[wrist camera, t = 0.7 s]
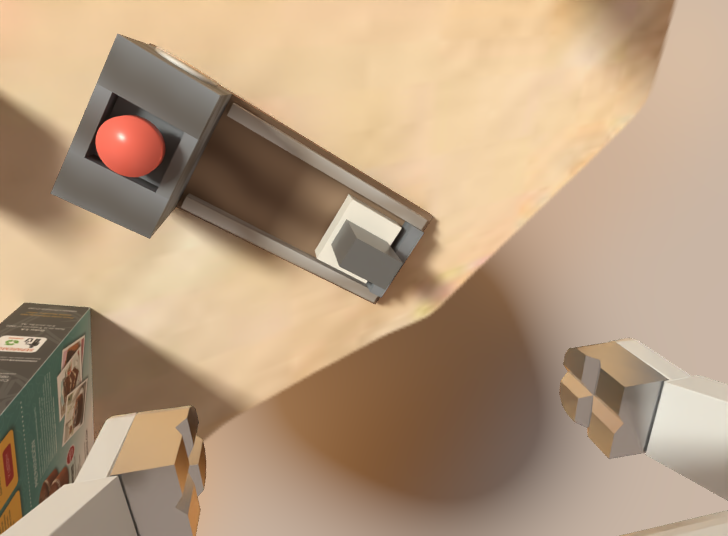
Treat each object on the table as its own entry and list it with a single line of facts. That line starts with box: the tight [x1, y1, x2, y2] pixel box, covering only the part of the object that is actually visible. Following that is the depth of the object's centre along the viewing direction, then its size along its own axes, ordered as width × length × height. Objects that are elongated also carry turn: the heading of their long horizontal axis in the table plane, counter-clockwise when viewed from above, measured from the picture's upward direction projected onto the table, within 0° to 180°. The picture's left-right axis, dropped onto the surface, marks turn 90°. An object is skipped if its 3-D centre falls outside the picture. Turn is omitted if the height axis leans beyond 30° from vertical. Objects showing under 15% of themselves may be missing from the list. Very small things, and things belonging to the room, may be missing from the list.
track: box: [51, 34, 433, 304], centre depth 40 cm, size 12×31×12 cm, turn 58°
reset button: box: [96, 115, 165, 177], centre depth 30 cm, size 4×4×2 cm
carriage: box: [315, 194, 403, 290], centre depth 43 cm, size 7×6×8 cm
